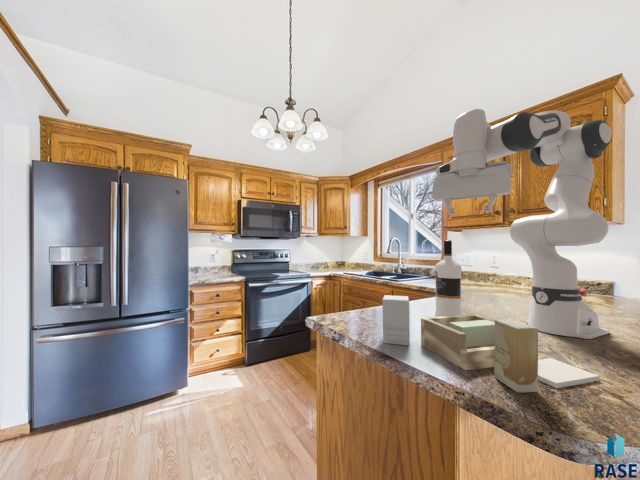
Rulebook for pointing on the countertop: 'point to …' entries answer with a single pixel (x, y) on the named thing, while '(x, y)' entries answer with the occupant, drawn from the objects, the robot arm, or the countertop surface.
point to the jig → (455, 342)
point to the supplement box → (396, 320)
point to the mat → (563, 374)
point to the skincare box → (516, 355)
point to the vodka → (448, 284)
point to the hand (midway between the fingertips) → (469, 213)
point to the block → (476, 332)
